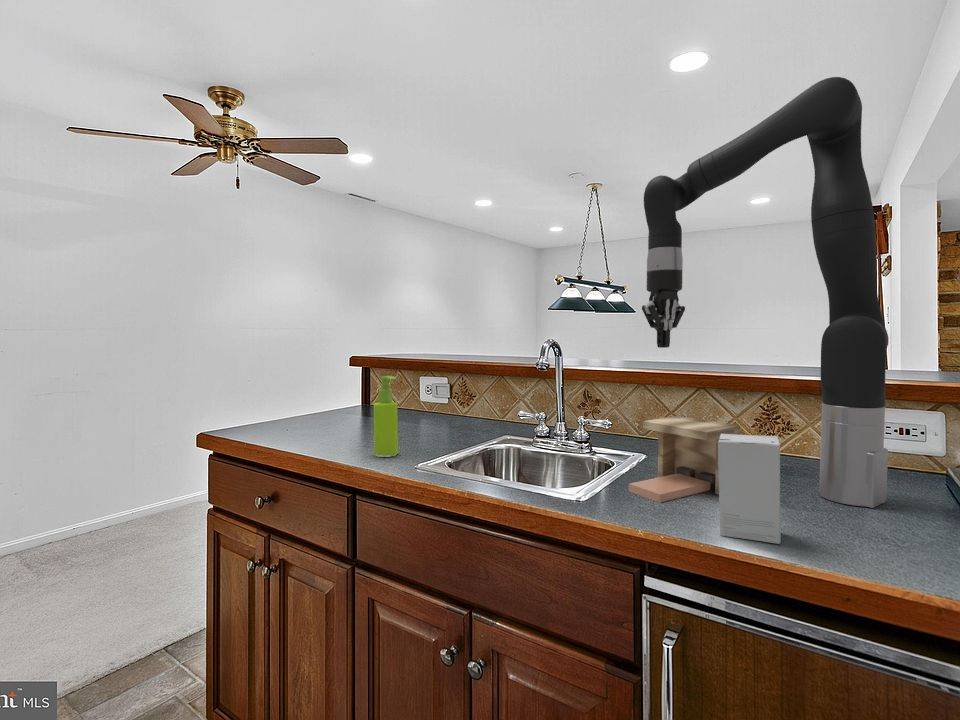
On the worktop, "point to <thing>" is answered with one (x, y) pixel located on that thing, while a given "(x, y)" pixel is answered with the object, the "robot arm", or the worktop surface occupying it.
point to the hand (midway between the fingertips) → (663, 347)
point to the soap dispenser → (385, 420)
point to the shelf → (689, 446)
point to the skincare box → (749, 487)
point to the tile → (669, 487)
